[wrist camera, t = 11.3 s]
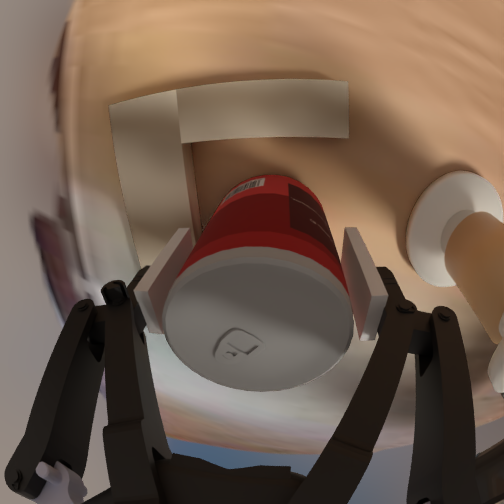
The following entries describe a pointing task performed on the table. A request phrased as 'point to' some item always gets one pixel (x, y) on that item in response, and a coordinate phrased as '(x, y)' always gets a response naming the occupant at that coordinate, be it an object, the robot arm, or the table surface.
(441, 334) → the robot arm
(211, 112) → the notched board
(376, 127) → the table surface
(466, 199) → the bobbin
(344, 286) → the canned food
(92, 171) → the table surface
